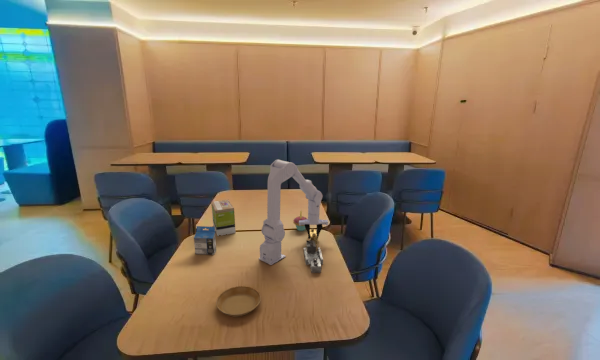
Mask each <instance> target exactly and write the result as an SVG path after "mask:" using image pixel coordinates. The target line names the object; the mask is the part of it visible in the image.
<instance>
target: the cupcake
mask: <svg viewBox="0 0 600 360" xmlns="http://www.w3.org/2000/svg"><path fill="white" fill-rule="evenodd" d="M302 212H303V211H302V210H300V212H299V213H300V214H299V215H300V216H297V217H294V218H293V220H292V222H293V224H294V225H295V228H296V230H297V231H300V232H302V231H306V228H305V225H301V226H299V221H300V220H307V219H308V217H305V216H302Z"/></svg>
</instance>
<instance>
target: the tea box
mask: <svg viewBox="0 0 600 360" xmlns="http://www.w3.org/2000/svg"><path fill="white" fill-rule="evenodd" d="M210 204H211V213H212V224H213V226H212V227H215V235H216V236H217V237H219V235H221V236H224V235H225V236H226V234H227V235H232V234H236V218H235V217H236V216H235V207H234V206H233V204H232V203H231V201H230V200H229V199H224V200H217V201H211V203H210Z"/></svg>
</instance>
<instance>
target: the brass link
mask: <svg viewBox="0 0 600 360" xmlns="http://www.w3.org/2000/svg"><path fill="white" fill-rule="evenodd" d="M316 232H317V229H315V228H310V239H309V240H315V244H316V246H317V245H318V243H319V241H318V240H319V236H317V233H316ZM309 240H308V241H309Z"/></svg>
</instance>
